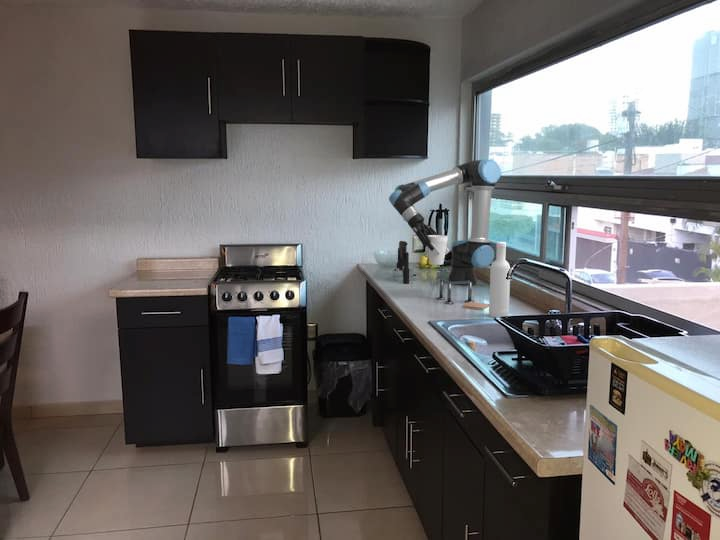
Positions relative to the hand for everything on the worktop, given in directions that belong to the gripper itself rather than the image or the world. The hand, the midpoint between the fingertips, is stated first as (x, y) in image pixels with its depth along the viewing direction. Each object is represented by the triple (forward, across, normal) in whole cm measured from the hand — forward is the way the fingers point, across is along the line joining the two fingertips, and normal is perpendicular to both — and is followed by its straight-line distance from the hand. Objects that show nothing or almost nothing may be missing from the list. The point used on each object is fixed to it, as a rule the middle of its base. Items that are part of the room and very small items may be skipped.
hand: (443, 253), depth 268 cm
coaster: (+29, +9, 0) cm, 31 cm away
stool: (-13, -35, -44) cm, 58 cm away
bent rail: (+20, +4, -10) cm, 23 cm away
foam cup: (+1, 0, -6) cm, 6 cm away
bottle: (+39, +20, +10) cm, 45 cm away
